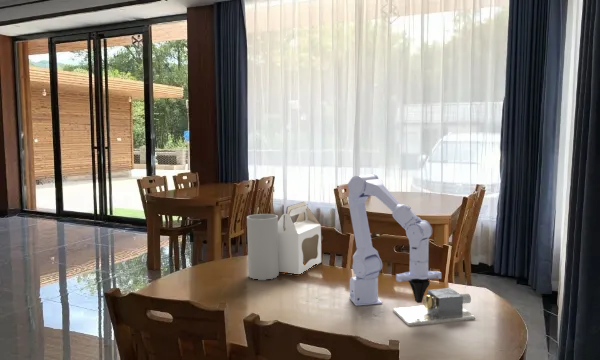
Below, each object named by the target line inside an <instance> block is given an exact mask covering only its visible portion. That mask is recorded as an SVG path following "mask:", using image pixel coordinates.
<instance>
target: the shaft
mask: <svg viewBox="0 0 600 360" xmlns="http://www.w3.org/2000/svg"><path fill="white" fill-rule="evenodd" d="M459 294H460V293H459ZM460 295H462V296H463V305H464V304H470V303H471V301H472V297H471V295H470V294H469V293H461V294H460ZM422 303H423V306H424V307H425V308H426V309H433V307H434V306H436V297H432V296H431V295H427V294H424V296H423V300H422Z"/></svg>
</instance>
